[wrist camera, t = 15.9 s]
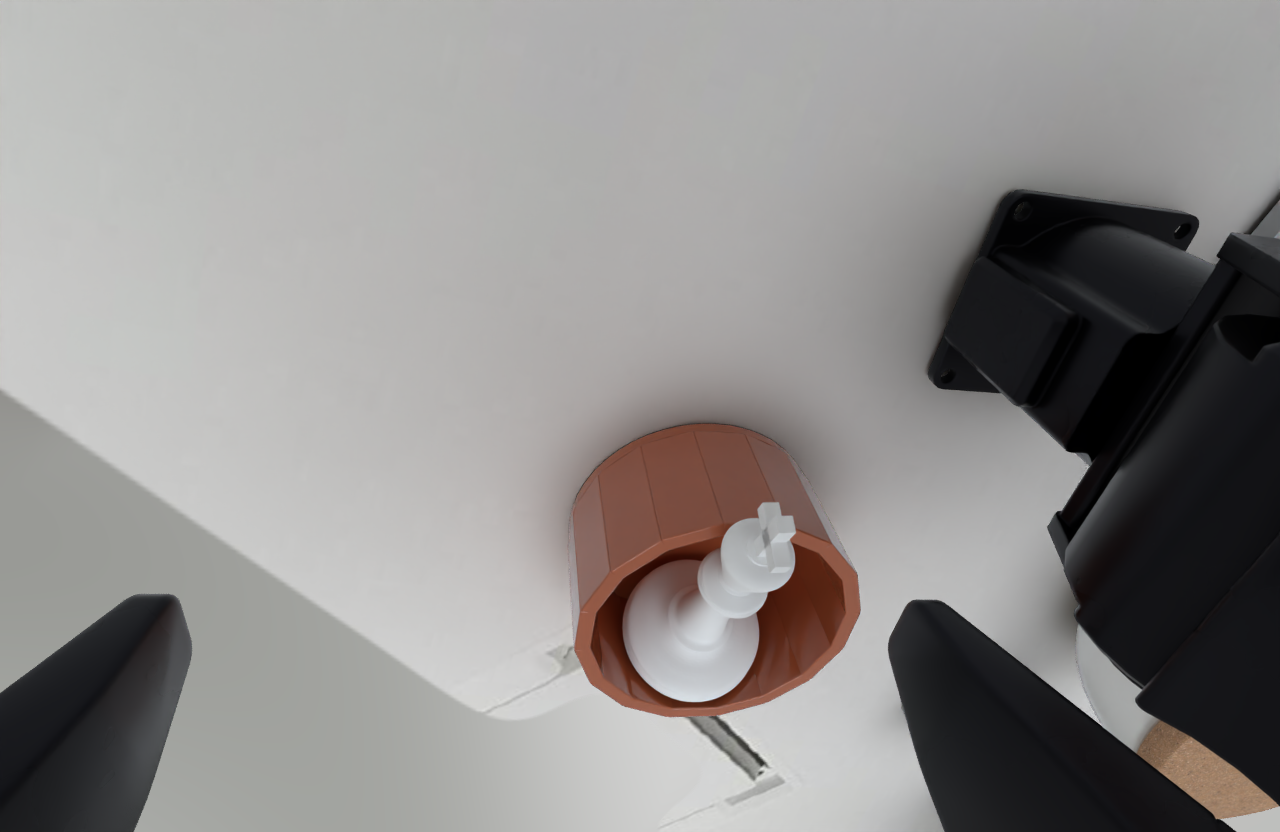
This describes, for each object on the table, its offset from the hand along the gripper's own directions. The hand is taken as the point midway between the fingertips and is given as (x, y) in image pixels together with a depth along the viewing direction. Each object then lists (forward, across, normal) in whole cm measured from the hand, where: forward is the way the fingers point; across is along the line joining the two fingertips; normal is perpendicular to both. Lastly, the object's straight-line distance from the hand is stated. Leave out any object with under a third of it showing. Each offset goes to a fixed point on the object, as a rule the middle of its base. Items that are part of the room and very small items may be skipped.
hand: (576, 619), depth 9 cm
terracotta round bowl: (+13, -6, +10) cm, 17 cm away
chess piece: (+10, -6, +13) cm, 18 cm away
